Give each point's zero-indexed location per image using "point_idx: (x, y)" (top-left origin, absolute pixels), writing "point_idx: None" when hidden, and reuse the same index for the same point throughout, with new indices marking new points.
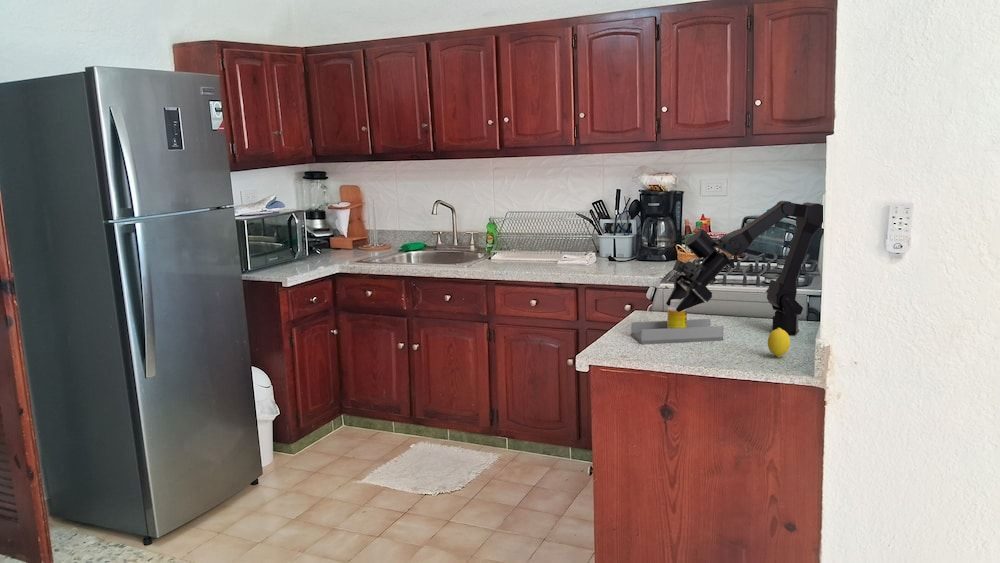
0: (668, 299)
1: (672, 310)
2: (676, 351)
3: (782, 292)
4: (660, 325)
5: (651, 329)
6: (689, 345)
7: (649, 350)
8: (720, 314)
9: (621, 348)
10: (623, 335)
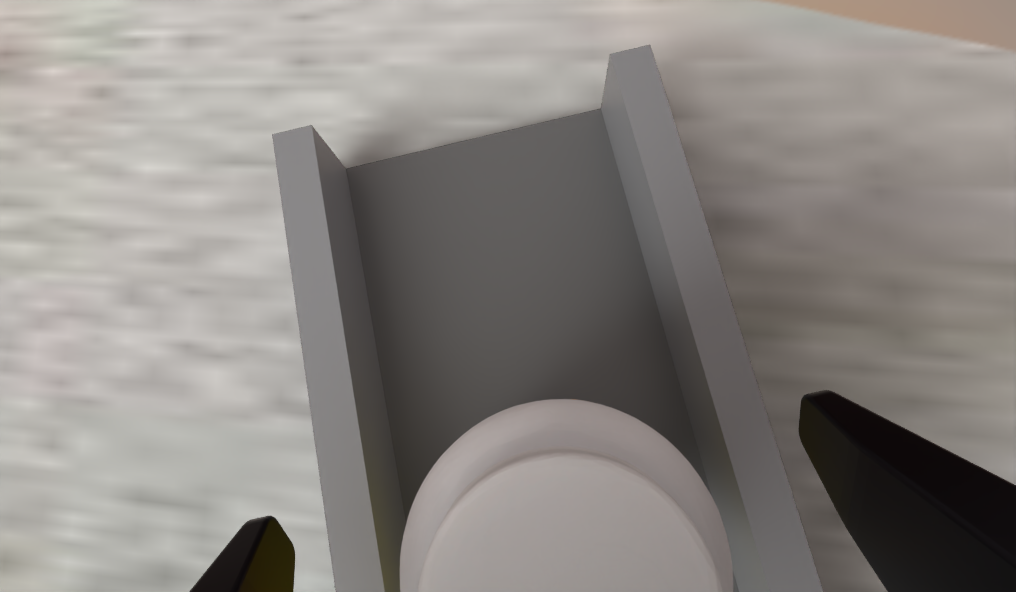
0: (888, 436)
1: (434, 466)
2: (79, 443)
3: None
4: (685, 343)
5: (314, 223)
6: None
7: (135, 238)
8: None
9: (212, 51)
10: None
